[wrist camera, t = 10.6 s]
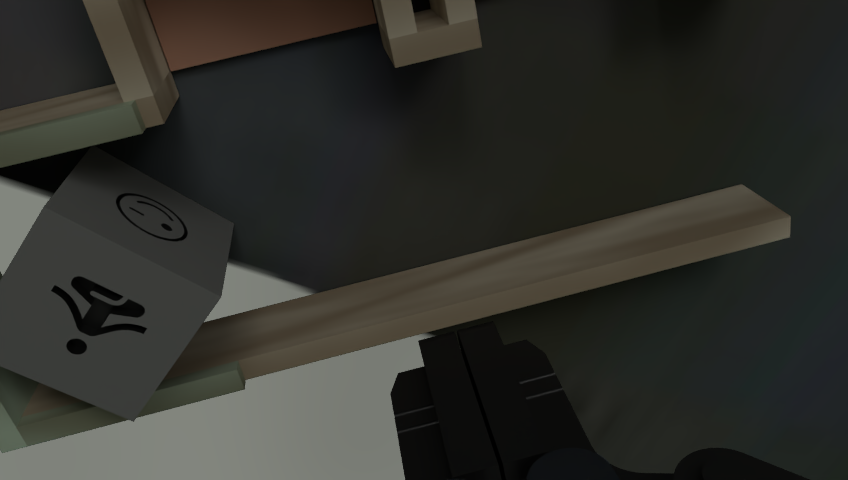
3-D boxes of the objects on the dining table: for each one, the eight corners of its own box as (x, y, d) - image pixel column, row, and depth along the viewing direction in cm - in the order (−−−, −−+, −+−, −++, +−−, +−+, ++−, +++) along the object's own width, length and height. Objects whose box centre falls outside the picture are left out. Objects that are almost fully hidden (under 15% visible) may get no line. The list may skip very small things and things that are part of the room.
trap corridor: (-205, -40, 19) (-300, -26, 16) (744, -251, 21) (824, -275, 18) (37, 385, 26) (2, 453, 23) (741, 203, 27) (798, 243, 24)
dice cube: (234, 222, 25) (221, 296, 20) (160, 330, 26) (133, 421, 21) (92, 144, 23) (44, 206, 18) (21, 264, 24) (-41, 349, 20)
